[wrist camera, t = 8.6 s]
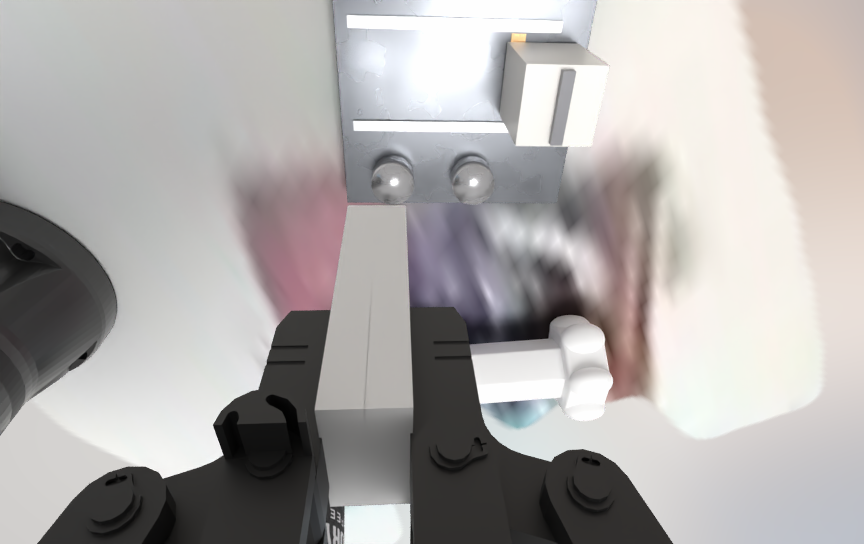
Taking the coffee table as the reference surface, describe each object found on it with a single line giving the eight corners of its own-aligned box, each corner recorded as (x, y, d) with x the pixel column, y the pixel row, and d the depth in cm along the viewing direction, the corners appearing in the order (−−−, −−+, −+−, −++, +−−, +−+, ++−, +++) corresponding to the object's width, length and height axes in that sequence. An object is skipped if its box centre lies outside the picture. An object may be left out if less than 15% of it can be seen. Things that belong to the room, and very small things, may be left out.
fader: (499, 114, 30) (517, 148, 25) (507, 41, 27) (528, 65, 23) (565, 115, 30) (593, 149, 25) (578, 43, 27) (613, 67, 23)
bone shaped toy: (415, 370, 46) (418, 451, 40) (408, 305, 40) (411, 388, 34) (575, 358, 46) (602, 437, 40) (590, 291, 41) (625, 372, 34)
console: (350, 188, 34) (345, 214, 31) (329, -101, 25) (320, -104, 22) (549, 189, 35) (562, 214, 32) (601, -90, 26) (627, -91, 23)
